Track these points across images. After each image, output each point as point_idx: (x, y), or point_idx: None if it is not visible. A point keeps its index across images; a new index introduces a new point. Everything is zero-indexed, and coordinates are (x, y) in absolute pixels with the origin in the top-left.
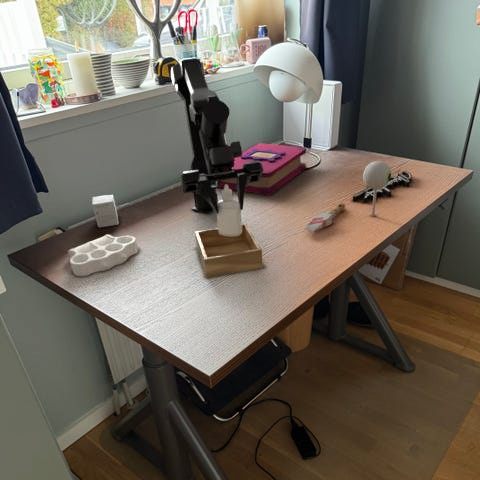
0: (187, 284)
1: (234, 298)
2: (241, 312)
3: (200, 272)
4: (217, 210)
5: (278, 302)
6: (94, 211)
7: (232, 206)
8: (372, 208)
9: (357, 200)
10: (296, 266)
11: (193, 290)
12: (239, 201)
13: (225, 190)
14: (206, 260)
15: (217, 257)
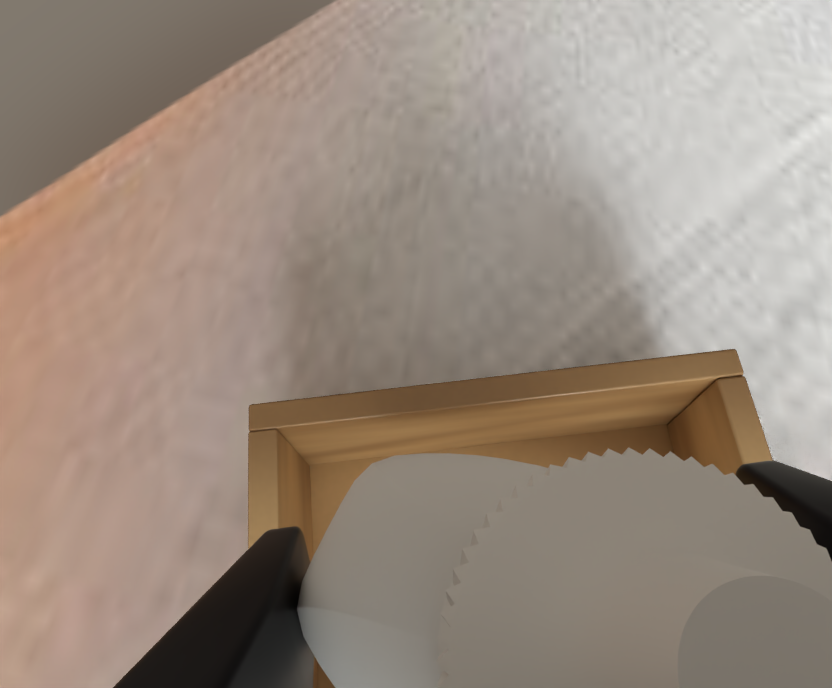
0: (802, 347)
1: (504, 169)
2: (478, 69)
3: None
4: (771, 464)
5: (294, 109)
6: None
7: (470, 459)
8: None
9: None
10: (72, 417)
11: (748, 276)
12: (283, 684)
13: (723, 555)
14: (716, 352)
15: (627, 363)
